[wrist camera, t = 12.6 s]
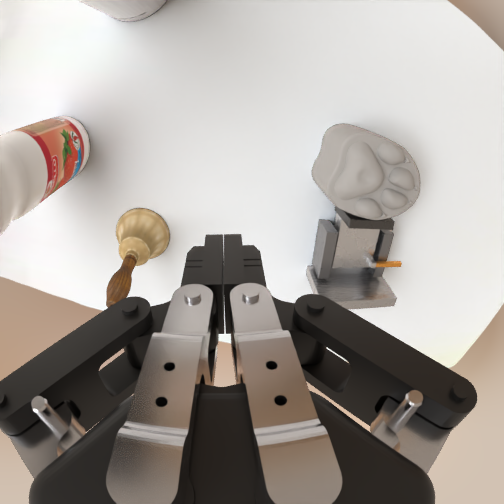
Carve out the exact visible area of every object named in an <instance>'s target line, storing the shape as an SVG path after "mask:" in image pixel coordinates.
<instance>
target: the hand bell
mask: <svg viewBox="0 0 504 504" xmlns="http://www.w3.org/2000/svg"><path fill="white" fill-rule="evenodd" d="M116 236H117V239H118V242H119V244H120V245H119V254H120V256H121V258H122V259H123V260H124V261H123V263H122V266H121V268H120V269H119V270H118V271H117V272H116V273H115V274H114V275H113V276H112V278H111V280H110V281H109V284H108V287H107V302H106V305H107V307H108V308H109V307H110V306H112V305H114V304H115V303H117V302H118V301H120V300H122V299H124V298H126V297H127V296H128V293H129V291H130V287H131V281H132V279H131V274H132V271H133V269H134V267H135V266H140V265H143V264H145V263H146V262H147V261H148V259H151V258H155V257H157V256H159V255H160V254H162V253H163V252H164V251H165V249H166V248H167V246H168V243H169V237H170V234H169V229H168V226H167V224H166V223H165V221H164V220H163V219H162V218H161V217H160V216H159V215H158V214H157V213H155V212H153V211H151V210H148V209H143V208H136V209H132V210H129V211H127V212H126V213H125V214H123V215H122V216H121V218H120V219H119V221H118V223H117V227H116Z"/></svg>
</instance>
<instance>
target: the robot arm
mask: <svg viewBox="0 0 504 504" xmlns="http://www.w3.org/2000/svg"><path fill="white" fill-rule="evenodd" d="M78 1H80V2H82V3H84V4H86V5H88V6H91V7H93V8H95V9H97V10H99V11H101V12H103V13H105V14H107V15H109V16H110V17H112V18H114V19H117V20H120V21H126V22H129V21H137V20H141V19H144V18H146V17H148V16H150V15H152V14H153V13H155V12H156V11H157V10H159V9H160V8H161V7H162V6H163V5H164V3H165V2H166V1H167V0H78ZM224 302H225V324H226V334H230V333H231V345H232V357H233V364H234V371H235V377H236V385H231V386H227V387H216V386H214V377H215V368H216V359H217V344H218V334H224ZM326 347H328V348H329V349H331V350H332V351H334V352H335V353H337V354H338V355H340V356H341V357H343V358H344V359H346V360H347V361H348V362H349V363H350V364H349V363H347V362H346V361H344V360H343V359H341V358H340V357H338V356H337V355H335V354H334V353H332V352H331V351H329V350H328V349H326ZM122 348H124V351H125V352H124V353H122V354H121V355H120V356H118V357H117V358H116V359H115V360H113V361H112V362H111V363H109V364H108V365H106V366H105V367H104V368H102V369H101V370H100V371H99V368H100V366H101V365H102V364H103V363H104V362H105V361H106V360H108V359H109V358H110V357H112V356H113V355H114V354H116V353H117V352H118V351H120V350H121V349H122ZM306 381H307V382H308V383H310V384H311V385H312V386H314V387H315V388H317V389H318V390H319V391H321V392H322V393H324V394H325V395H326V396H328V397H329V398H330V399H332V400H333V401H334V402H336V403H337V404H339V405H340V406H342V407H343V408H344V409H346V410H347V411H349V412H351V413H352V414H353V415H354V416H356V417H357V418H359V419H360V420H362V421H363V422H365V423H366V424H368V425H369V426H370V431H371V433H370V432H369V431H367V430H366V429H365V428H363V427H362V426H361V425H359V424H358V423H357V422H355V421H354V420H353V419H351V418H350V417H348V416H347V415H346V414H345V413H343V412H342V411H340V410H339V409H338V408H337V407H335V406H334V405H333V404H332V403H330V402H329V401H328V400H326V399H325V398H323V397H322V396H320V395H318V394H316V393H313V392H312V391H309V389H308V386H307V383H306ZM132 394H134V395H133V396H131V395H132ZM130 396H131V397H130ZM476 403H477V393H476V390H475V388H474V386H473V385H472V384H471V383H470V382H469V381H468V380H467V379H465V378H464V377H462V376H460V375H458V374H457V373H455V372H453V371H452V370H450V369H448V368H447V367H445V366H443V365H441V364H440V363H438V362H436V361H435V360H433V359H431V358H429V357H428V356H426V355H424V354H423V353H421V352H419V351H417V350H416V349H414V348H412V347H411V346H409V345H407V344H405V343H404V342H402V341H400V340H399V339H397V338H395V337H394V336H392V335H390V334H388V333H387V332H385V331H383V330H382V329H380V328H378V327H376V326H375V325H373V324H371V323H370V322H368V321H366V320H365V319H363V318H361V317H359V316H358V315H356V314H354V313H353V312H351V311H349V310H347V309H346V308H344V307H342V306H341V305H339V304H337V303H336V302H334V301H332V300H330V299H329V298H327V297H325V296H322V295H318V294H307V295H304V296H301V297H300V298H298V299H297V300H296V302H295V303H289V302H284V301H281V300H278V299H276V298H274V297H273V296H272V295H271V293H270V291H269V290H268V289H267V287H266V282H265V276H264V271H263V266H262V260H261V255H260V251H259V250H258V249H257V248H256V247H255V246H254V245H243V246H242V237H241V234H224V255H223V235H206V237H205V245H204V246H194V247H193V248H192V249H191V250H190V251H189V252H188V253H187V258H186V263H185V268H184V273H183V278H182V283H181V287H180V288H179V289H177V290H176V291H175V292H174V294H173V296H172V299H171V301H169V302H167V303H164V304H160V305H156V306H151V307H150V304H149V302H148V301H147V300H146V299H144V298H141V297H127V298H124V299H122V300H120V301H118V302H117V303H115V304H114V305H112V306H110V307H109V308H107V309H106V310H104V311H103V312H101V313H100V314H98V315H97V316H95V317H94V318H92V319H91V320H89V321H88V322H86V323H85V324H83V325H82V326H80V327H79V328H77V329H76V330H74V331H73V332H71V333H70V334H68V335H67V336H65V337H64V338H62V339H61V340H59V341H58V342H56V343H55V344H53V345H52V346H50V347H49V348H47V349H46V350H44V351H43V352H42V353H40V354H39V355H37V356H36V357H34V358H33V359H32V360H30V361H29V362H27V363H26V364H24V365H23V366H21V367H20V368H19V369H17V370H16V371H14V372H13V373H11V374H10V375H8V376H7V377H6V378H4V379H3V380H2V381H0V429H1V430H2V432H3V433H5V434H6V435H7V436H8V437H9V438H10V439H11V441H12V443H13V445H14V446H15V448H16V450H17V452H18V453H19V455H20V457H21V458H22V460H23V462H24V463H25V465H26V467H27V468H28V470H29V471H30V473H31V474H32V476H33V478H34V481H33V483H32V485H31V488H30V494H29V504H435V492H434V488H433V484H432V482H431V480H430V478H429V477H428V475H427V473H428V471H429V470H430V468H431V466H432V465H433V463H434V461H435V460H436V458H437V456H438V454H439V452H440V451H441V449H442V447H443V445H444V443H445V441H446V440H447V437H448V436H449V434H450V432H451V431H452V430H453V429H454V428H455V427H456V426H457V425H458V424H459V423H460V422H461V421H462V420H463V419H464V417H466V416H467V415H468V414H469V412H470V411H471V410H472V409H473V408H474V407H475V405H476ZM99 421H100V422H99ZM98 422H99V423H98ZM94 425H95V426H94ZM93 426H94V427H93ZM92 427H93V428H92ZM91 428H92V429H91ZM89 429H91V430H89ZM88 430H89V431H88ZM87 431H88V432H87ZM86 432H87V433H86Z"/></svg>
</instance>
